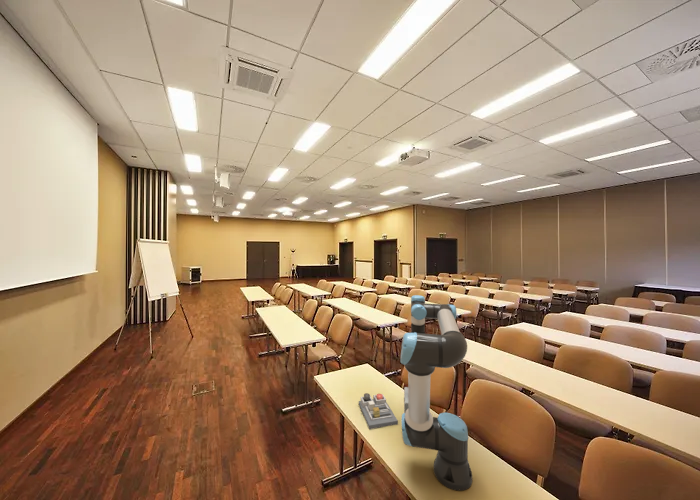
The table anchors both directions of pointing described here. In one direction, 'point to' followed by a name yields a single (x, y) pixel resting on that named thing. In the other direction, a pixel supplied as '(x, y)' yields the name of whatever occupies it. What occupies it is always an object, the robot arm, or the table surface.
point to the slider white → (371, 405)
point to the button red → (379, 396)
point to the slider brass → (376, 412)
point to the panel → (385, 413)
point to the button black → (366, 397)
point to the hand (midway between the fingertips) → (417, 364)
